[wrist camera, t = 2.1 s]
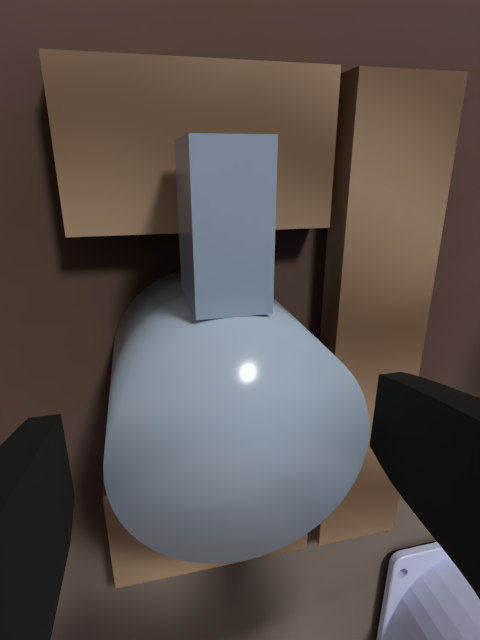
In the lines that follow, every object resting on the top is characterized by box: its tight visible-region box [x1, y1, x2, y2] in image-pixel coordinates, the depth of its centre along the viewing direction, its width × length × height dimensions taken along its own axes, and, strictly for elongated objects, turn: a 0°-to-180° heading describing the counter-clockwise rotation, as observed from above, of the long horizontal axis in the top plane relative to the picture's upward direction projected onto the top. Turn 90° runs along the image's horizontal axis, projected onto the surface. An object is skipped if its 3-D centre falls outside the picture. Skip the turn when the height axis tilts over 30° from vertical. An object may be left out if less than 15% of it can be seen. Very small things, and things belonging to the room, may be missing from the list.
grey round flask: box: [103, 133, 370, 564], centre depth 11 cm, size 9×6×6 cm, turn 0°
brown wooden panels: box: [39, 49, 468, 589], centre depth 14 cm, size 16×11×1 cm
